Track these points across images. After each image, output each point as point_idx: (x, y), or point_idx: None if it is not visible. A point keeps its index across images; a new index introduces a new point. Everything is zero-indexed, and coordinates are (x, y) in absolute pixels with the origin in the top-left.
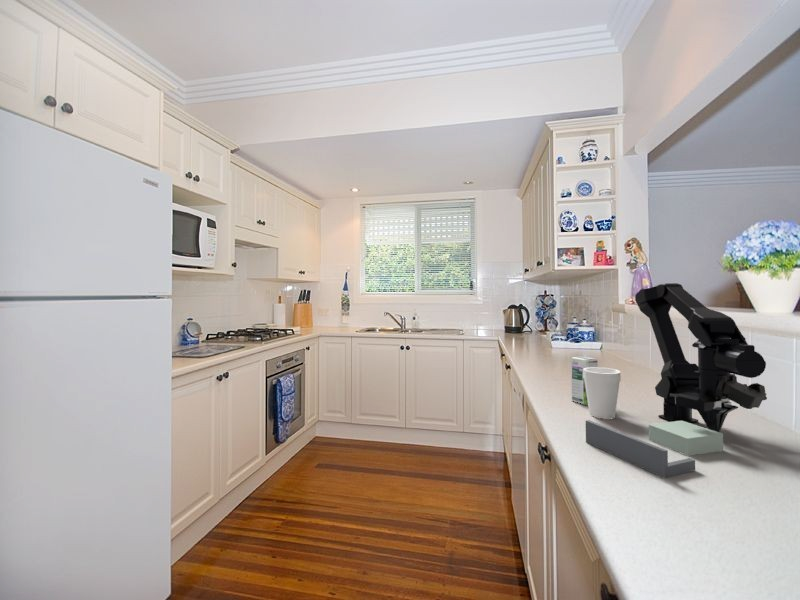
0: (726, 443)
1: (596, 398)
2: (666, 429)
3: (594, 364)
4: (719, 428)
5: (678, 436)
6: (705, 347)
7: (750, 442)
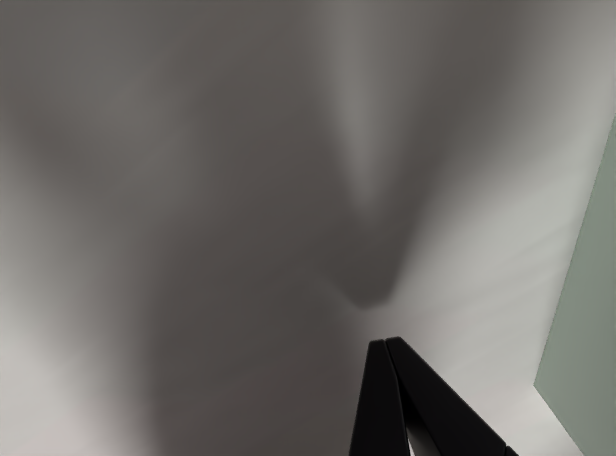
0: (394, 240)
1: None
2: None
3: None
4: (394, 382)
5: None
6: None
7: (163, 230)
